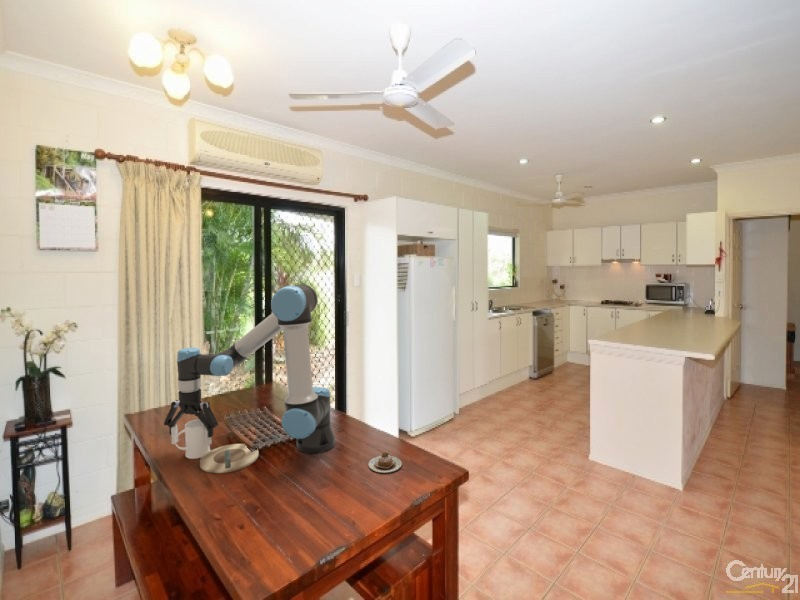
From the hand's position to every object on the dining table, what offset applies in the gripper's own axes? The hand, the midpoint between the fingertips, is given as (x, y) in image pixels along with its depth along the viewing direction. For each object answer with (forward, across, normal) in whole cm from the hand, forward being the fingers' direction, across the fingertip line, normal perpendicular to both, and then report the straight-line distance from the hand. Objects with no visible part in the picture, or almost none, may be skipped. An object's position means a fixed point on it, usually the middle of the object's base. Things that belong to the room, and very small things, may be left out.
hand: (191, 444), depth 149 cm
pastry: (+4, -74, 0) cm, 74 cm away
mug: (+4, -1, 0) cm, 4 cm away
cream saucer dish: (+4, -16, +2) cm, 17 cm away
